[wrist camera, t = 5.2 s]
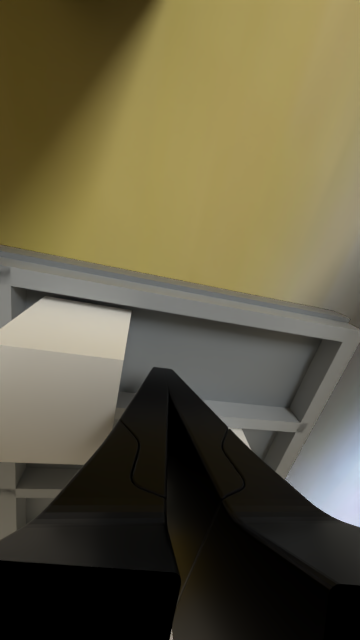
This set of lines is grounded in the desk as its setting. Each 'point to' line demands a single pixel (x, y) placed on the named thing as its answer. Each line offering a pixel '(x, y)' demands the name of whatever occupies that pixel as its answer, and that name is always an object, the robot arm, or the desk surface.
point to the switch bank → (188, 358)
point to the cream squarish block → (60, 380)
